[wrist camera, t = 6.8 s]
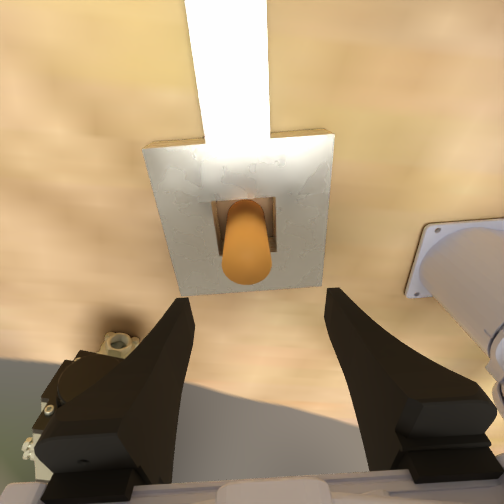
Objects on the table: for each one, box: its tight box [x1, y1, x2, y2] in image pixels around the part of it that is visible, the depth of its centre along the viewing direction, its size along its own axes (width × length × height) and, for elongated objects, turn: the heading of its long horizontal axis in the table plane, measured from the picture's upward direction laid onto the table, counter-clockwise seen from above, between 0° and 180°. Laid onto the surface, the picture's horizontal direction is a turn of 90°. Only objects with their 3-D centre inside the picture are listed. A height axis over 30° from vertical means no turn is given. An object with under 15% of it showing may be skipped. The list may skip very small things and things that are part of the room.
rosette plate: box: [142, 0, 335, 296], centre depth 19 cm, size 12×20×2 cm, turn 4°
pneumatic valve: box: [22, 332, 140, 483], centre depth 24 cm, size 6×12×12 cm, turn 159°
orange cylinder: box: [222, 200, 272, 285], centre depth 19 cm, size 3×3×7 cm
